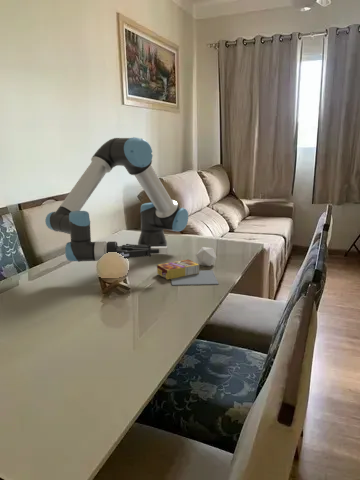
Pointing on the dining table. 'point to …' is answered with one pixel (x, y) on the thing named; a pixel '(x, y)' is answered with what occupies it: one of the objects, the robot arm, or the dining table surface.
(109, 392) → the dining table surface
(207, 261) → the die
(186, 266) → the candy box
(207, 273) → the felt mat
